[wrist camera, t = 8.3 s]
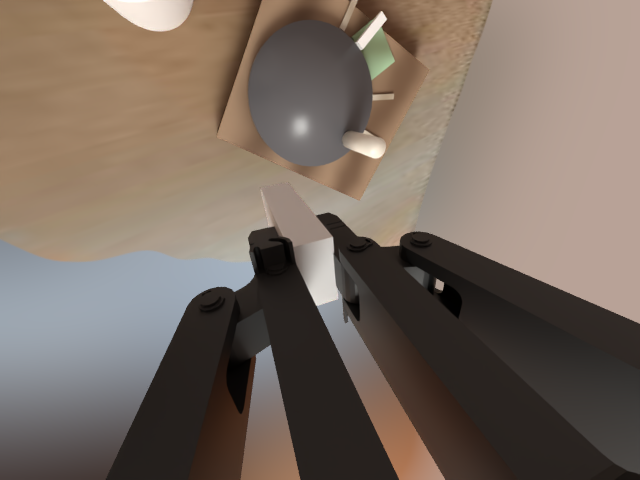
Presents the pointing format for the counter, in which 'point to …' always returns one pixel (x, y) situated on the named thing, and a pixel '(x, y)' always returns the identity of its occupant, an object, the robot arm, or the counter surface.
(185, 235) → the counter surface
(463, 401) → the robot arm
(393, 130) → the board
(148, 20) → the mug
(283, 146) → the gray pegged oval disc
